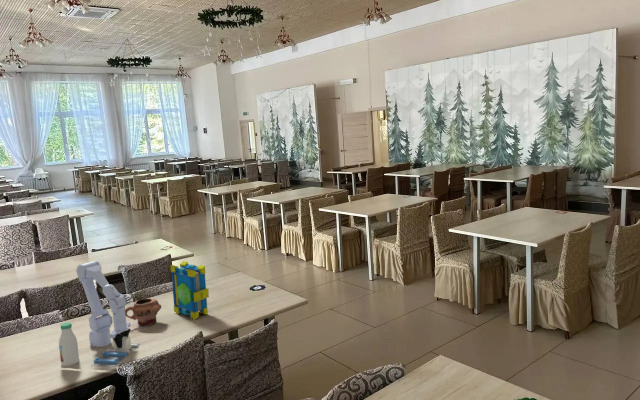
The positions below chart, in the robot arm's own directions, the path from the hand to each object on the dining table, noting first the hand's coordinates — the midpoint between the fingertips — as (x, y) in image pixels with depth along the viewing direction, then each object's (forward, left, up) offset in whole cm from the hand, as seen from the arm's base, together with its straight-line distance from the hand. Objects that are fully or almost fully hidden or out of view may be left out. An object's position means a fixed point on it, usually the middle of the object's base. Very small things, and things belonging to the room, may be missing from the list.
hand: (122, 345), depth 240 cm
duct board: (0, -5, -3) cm, 6 cm away
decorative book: (+13, +51, -3) cm, 53 cm away
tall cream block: (0, 0, -2) cm, 2 cm away
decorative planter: (-7, +33, -3) cm, 34 cm away
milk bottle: (-18, -15, -3) cm, 24 cm away
